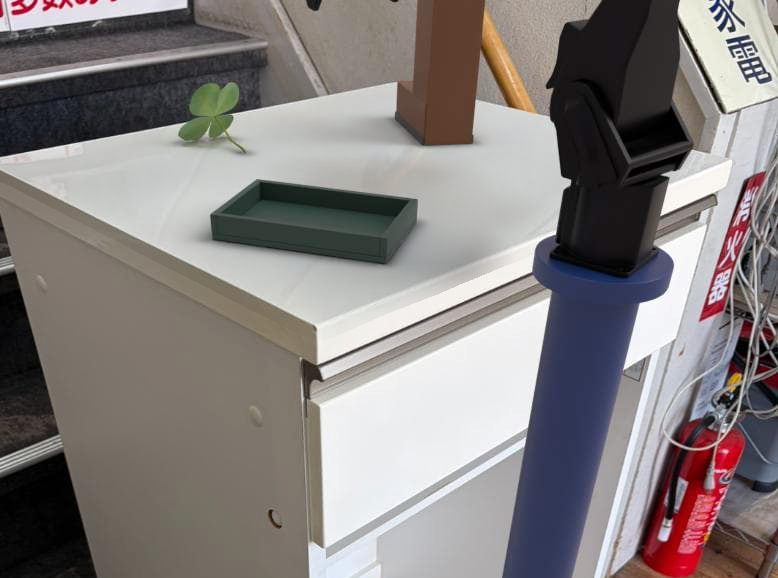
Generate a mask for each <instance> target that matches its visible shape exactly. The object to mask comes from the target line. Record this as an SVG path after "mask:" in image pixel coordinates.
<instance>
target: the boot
mask: <svg viewBox="0 0 778 578" xmlns="http://www.w3.org/2000/svg"><path fill="white" fill-rule="evenodd" d="M416 1H417V2H416V21H415V37H414V38H415V39H414V40H415V42H414V59H413V77H412V80H397V83H396V106H395V107H396V109H395V111H394V119H395V120H396V121H397V123H398V124H400V125H401V127H403V128H404V129H405V130H406V131H407V132H408V133H409V134H410V135H411V136H412V137H413V138H414V139H416V141H418V143H420V144H421V145H422V146H441V145H463V144H464V145H465V144H473V143H474V134H473V133H474V122H475V113H476V112H475V111H476V103H477V102H476V100H477V91H478V79H479V71H480V60H481V49H482V39H483V29H484V19H485V10H486V9H485V7H486V0H416Z"/></svg>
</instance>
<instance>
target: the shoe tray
mask: <svg viewBox="0 0 778 578" xmlns="http://www.w3.org/2000/svg"><path fill="white" fill-rule="evenodd" d="M418 207H419V199H418V198H413V197H404V196H398V195H388V194H380V193H375V192H374V193H372V192H365V191H356V190H349V189H342V188H333V187H325V186H317V185H309V184H300V183H293V182H285V181H276V180H268V179H262V178H261V179H259V178H256V179H255V180H254V181H252V182H251V183H250V184H248V185H247V186H245V187H244V188H243V189H242V190H241V191H239V192H238V193H236V194H235V195H234V196H232V197H231V198H229V199H228V200H227V201H225V203H223V204H222V205H220V206H219V207H218V208H217V209H215V210H214V211H212V212H211V213H210V214H209V219H210V231H211V238H212V239H211V240H215V241H216V240H217V241H223V242H229V243H237V244H244V245H252V246H258V247H265V248H274V249H279V250H280V249H281V250H287V251H288V250H289V251H293V252H300V253H307V254H316V255H323V256H329V257H337V258H343V259H351V260H357V261H363V262H364V261H365V262H370V263H371V262H372V263H379V264H387V263H388V262H389V261H390V260H391V258H392V257H393V255H394V254H395V252H396V251H397V250H398V249H399V248H400V245H401V244H402V243H403V242H404V240H405V239H406V238H407V236H408V235H409V234H410V232H411V231H412V229H414V227H415V226H416V224H417V222H418Z"/></svg>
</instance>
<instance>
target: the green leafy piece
mask: <svg viewBox="0 0 778 578" xmlns="http://www.w3.org/2000/svg"><path fill="white" fill-rule="evenodd" d="M239 97H240V89H239V86H238V84H237V83H236V82H233V81H230V82H228V83H227V84H226V85H225V86H224V87H223V88H222V89H221V87H220V85H218V83H213V82H210V83H209V82H208V83H205V84H202V85H201V86H199V88H197V89H196V90H195V91H194V92H193V95H192V97H191V100H190V104H189V112H190V113H191V114H192V115H193V116H195V118H193V119H191V120H190V121H188V122H186V123H185V124H183V125H182V126H181V127H180V128H179V130H178V133H177V136H178V137H179V139H181V140H183V141H186V142H187V141H188V142H189V141H192V142H193V141H198V140H201V139H202V138H203V137H204V136H205V135H206V133H207V132H208V137H209V138H210V139H215V138H218V137H220V136H221V135H222V134H223V133H225V135H226V136H227V139H229V141H230V142H231V143H232V144H234V145H235V146H236V147H238V148H239V149H240V150H241V151H242V152H243V154H247V151H246V150H245V148H244V147H243V146H241V145H240V144H238V143H237V142H236V141H235V140H233V139H232V137H231V136H230V134H229V133H228V131H227V130H228V129H229V128H230V126H231V125H232V124H233V121H234V115H233V114H231V113H227V112H230V111H231V110H232V109H234V107H236V105H237V104H238V102H239ZM225 113H227V114H225Z"/></svg>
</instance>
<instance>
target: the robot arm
mask: <svg viewBox="0 0 778 578" xmlns="http://www.w3.org/2000/svg"><path fill="white" fill-rule="evenodd" d="M389 1H390V2H392V3H398V2H400V0H389ZM305 2H306V6H307V8H308V9H309V10H311V11H313V12H318V11H319V10H320V7H321V4H322V2H323V0H305ZM680 2H681V0H600V2H599V3H598V5H597V6H596V8H595V9H594V10H593V11H592V13H591V15H590V16H589V18H585V19H579V20H572V21H566V22H565V23H564V24H563V27H562V29H561V32H560V34H559V39H558V47H557V52H556V53H557V54H556V60H555V65H554V67H553V70H552V73H551V75H550V77H549V78H548V80H547V82H546V84H545V89H546V90H551V89H552V92H551V94H550V100H549V107H548V108H549V110H548V111H549V112H548V113H549V121H550V122H551V123H553V125H554V129H555V133H556V135H555V136H556V142H557V143H556V144H557V153H558V161H559V169H560V170H559V171H560V176H561V177H562V178H564V179H567V180H570V185H568V186H566V187H565V188H564V189H562V190H563V191H562V195H561V201H560V207H559V212H558V213H559V214H558V218H557V225H556V231H555V235H556V236H555V241H556V243H557V244H560V245H558V246H557V247H555V248H554V249H552V250H550V254H549V257H550V258H551V259H554V260H558V261H561V262H565V263H569V264H572V265H576V266H579V267H583V268H586V269H590V270H594V271H597V272H601V273H604V274H608V275H612V276H615V277H619V278H625V279H626V278H629V277H631V276H632V275H633V274H634V273H636V272H637V271H638V270H640V269H641V268H642V267H644V266H645V265H646V264H647V263H649V262H650V261H651V260H653V259H654V258H655V257H657V256H658V253H659V249H658V248H656V247H653V245H655V244H654V243H655V241H656V240H655V239H656V236H657V232H658V227H659V223H660V219H661V215H662V211H663V207H664V203H665V199H666V196H667V191H668V187H669V183H670V180H671V179H670V176H668V175H664V174H667V173H670V172H677V171H679V170H681V168H682V167H683V166H684V164H685V162H686V160H687V159H688V157H689V156H690V154H691V152H692V150H693V149H694V146H695V143H694V140H693V138H692V136H691V134H690V132H689V130H688V128H687V126H686V124H685V122H684V120H683V117H682V116H681V113H680V111H679V110H678V108H677V106H676V105H677V104H676V103H675V101H674V100H673V95H674V91H675V85H676V81H677V75H678V70H679V65H680V60H681V44H680V43H681V41H680V29H679V15H678V14H679V7H680Z"/></svg>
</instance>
